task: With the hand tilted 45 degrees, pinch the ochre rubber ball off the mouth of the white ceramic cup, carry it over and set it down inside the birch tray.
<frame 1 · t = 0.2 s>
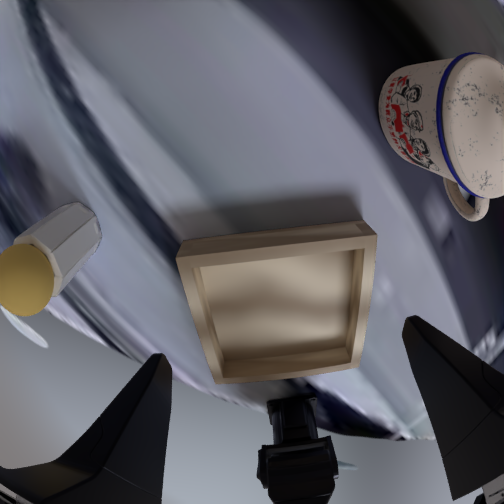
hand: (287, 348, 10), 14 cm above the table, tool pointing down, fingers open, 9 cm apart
tray: (281, 304, 26), on the table
cup: (77, 229, 23), on the table
ball: (23, 280, 15), point 9 cm above the table, touching cup
teacup with lid: (423, 131, 19), on the table
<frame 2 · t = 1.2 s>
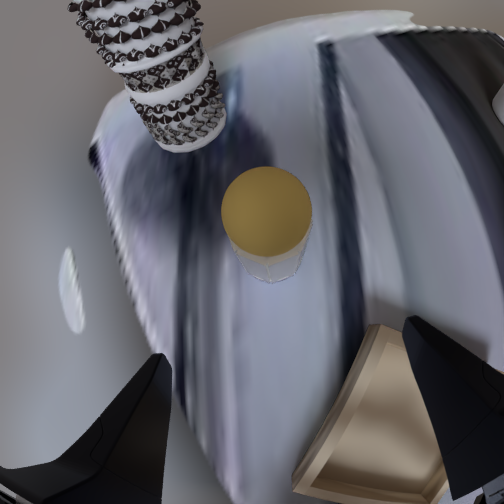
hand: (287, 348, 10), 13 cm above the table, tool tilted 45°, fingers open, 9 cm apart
tray: (403, 428, 19), on the table
cup: (271, 251, 24), on the table
ball: (266, 211, 16), point 9 cm above the table, touching cup
decorative candle: (190, 123, 29), on the table
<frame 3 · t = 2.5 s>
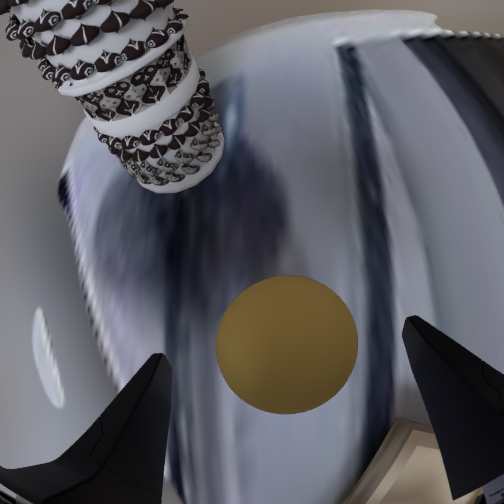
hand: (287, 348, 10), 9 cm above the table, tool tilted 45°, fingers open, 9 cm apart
ball: (287, 345, 10), point 9 cm above the table, touching cup
decorative candle: (177, 151, 23), on the table
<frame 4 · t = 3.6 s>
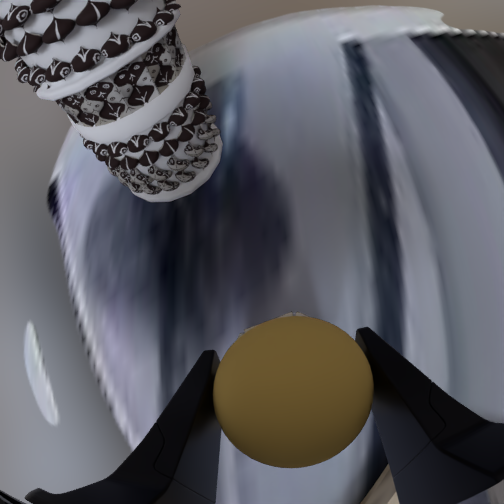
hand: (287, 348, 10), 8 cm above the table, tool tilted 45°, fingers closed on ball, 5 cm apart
ball: (293, 393, 8), point 9 cm above the table, touching cup, gripper
decorative candle: (171, 156, 21), on the table
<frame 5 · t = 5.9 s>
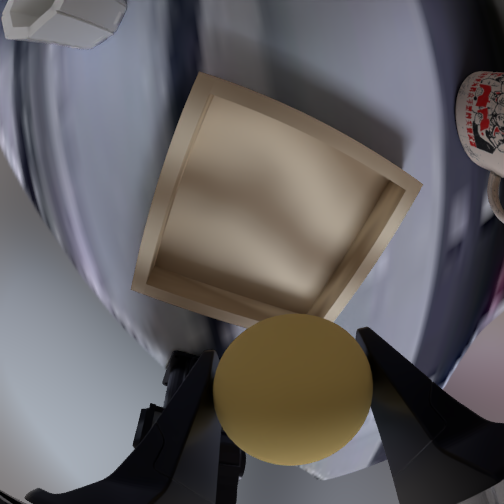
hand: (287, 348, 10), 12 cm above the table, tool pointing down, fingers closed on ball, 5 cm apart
tray: (268, 218, 20), on the table
cup: (92, 17, 12), on the table
ball: (293, 390, 8), point 14 cm above the table, tilted 45°, touching gripper
teacup with lid: (481, 134, 17), on the table
when the fingers open (3 cm above the table, at t = 7.3 s): ball drops 2 cm, resting on tray.
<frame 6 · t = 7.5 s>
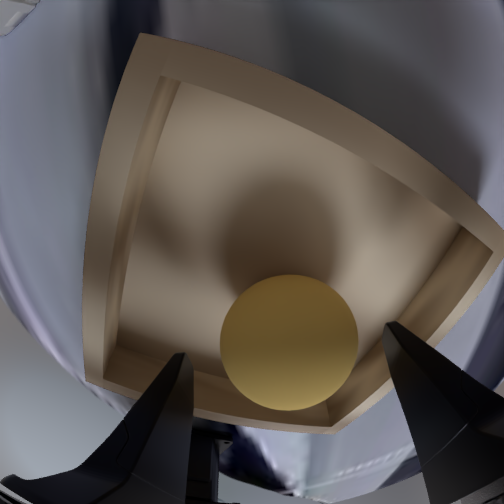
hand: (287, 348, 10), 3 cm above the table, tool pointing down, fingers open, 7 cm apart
tray: (279, 288, 13), on the table
ball: (289, 343, 10), point 3 cm above the table, tilted 45°, touching tray
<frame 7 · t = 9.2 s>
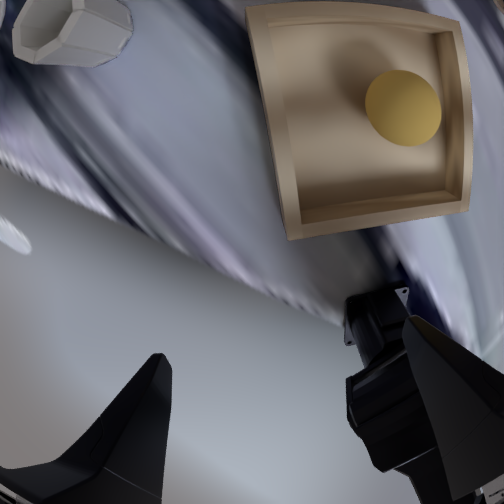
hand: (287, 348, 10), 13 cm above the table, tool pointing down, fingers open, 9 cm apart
tray: (370, 111, 17), on the table
cup: (100, 34, 13), on the table
ball: (403, 107, 14), point 3 cm above the table, tilted 51°, touching tray
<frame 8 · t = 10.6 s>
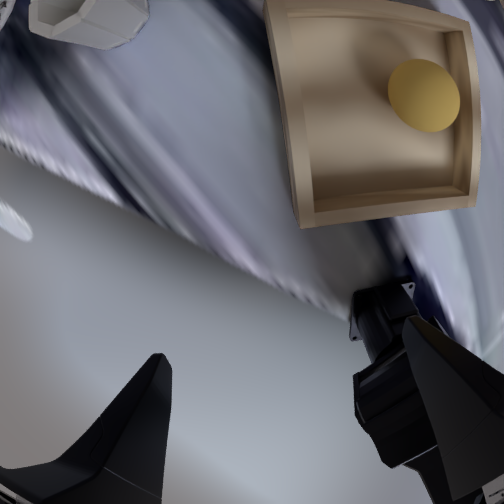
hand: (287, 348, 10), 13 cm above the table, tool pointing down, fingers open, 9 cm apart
tray: (382, 104, 17), on the table
cup: (115, 17, 13), on the table
ball: (424, 95, 14), point 3 cm above the table, tilted 61°, touching tray
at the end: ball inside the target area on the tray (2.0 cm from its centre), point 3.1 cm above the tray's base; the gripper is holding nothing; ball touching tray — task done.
